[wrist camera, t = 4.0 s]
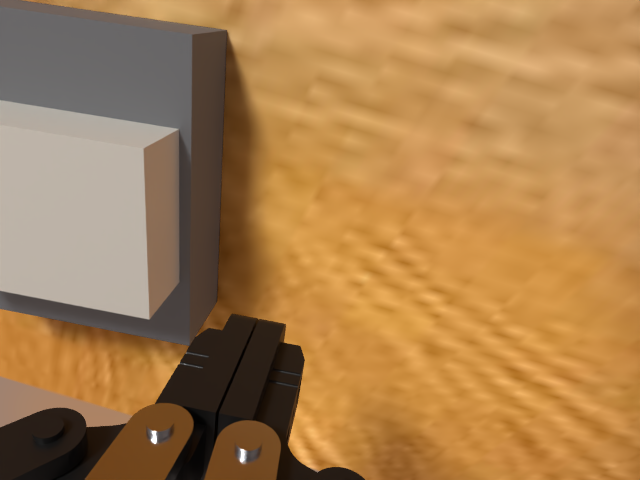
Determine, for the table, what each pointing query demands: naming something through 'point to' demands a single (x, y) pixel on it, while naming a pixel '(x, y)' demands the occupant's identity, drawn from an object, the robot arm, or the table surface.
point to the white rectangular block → (88, 209)
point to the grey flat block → (137, 106)
